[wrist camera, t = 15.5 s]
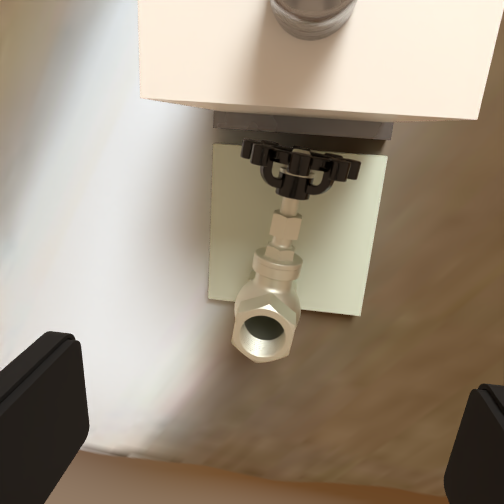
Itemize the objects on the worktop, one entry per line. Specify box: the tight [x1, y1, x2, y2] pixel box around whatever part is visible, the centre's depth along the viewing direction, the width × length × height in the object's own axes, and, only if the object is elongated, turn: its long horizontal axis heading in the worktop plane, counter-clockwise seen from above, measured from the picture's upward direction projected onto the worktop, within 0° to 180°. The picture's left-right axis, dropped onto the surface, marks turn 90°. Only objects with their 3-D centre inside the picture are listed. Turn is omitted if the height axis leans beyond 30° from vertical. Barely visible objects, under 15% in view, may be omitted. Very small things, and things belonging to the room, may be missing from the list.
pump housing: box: [138, 0, 504, 140], centre depth 16 cm, size 8×11×17 cm
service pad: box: [208, 143, 388, 316], centre depth 27 cm, size 11×11×1 cm
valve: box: [231, 139, 361, 363], centre depth 23 cm, size 7×7×12 cm
